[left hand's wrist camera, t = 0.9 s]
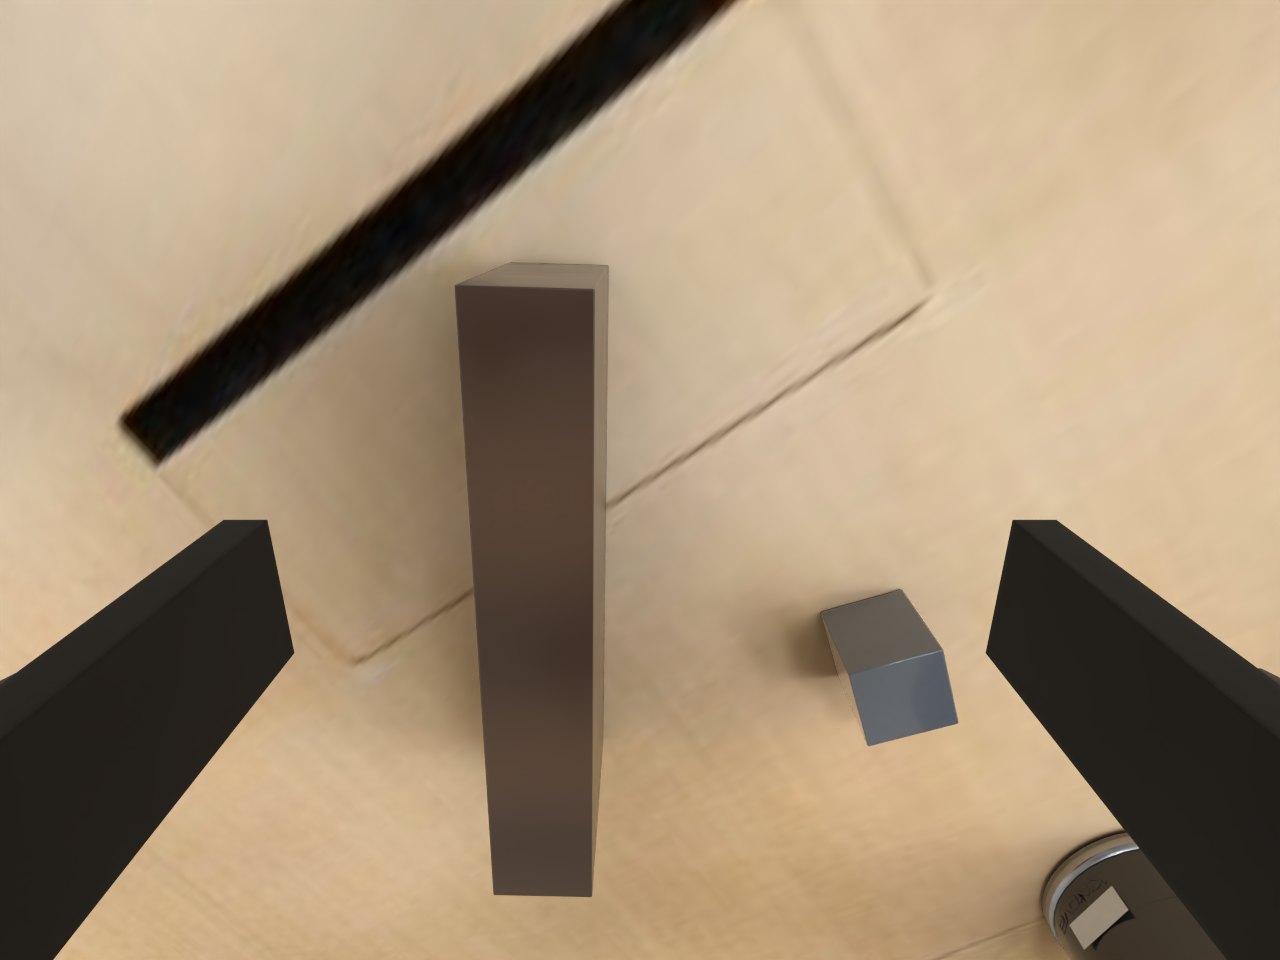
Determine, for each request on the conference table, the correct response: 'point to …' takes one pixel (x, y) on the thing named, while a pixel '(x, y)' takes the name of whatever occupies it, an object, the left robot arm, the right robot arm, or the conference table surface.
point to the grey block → (890, 668)
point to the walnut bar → (538, 560)
